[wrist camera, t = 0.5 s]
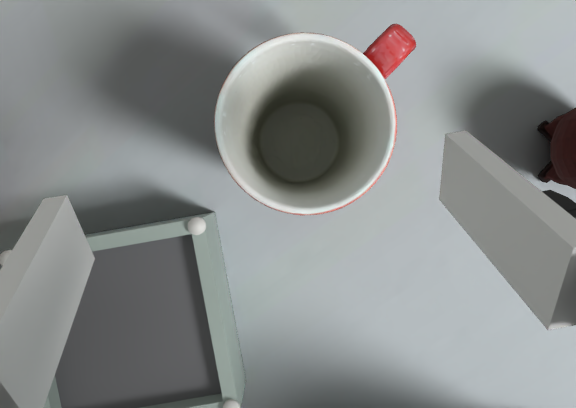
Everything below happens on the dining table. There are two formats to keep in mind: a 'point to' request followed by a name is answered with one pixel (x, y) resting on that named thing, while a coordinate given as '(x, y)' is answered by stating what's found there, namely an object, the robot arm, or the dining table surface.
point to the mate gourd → (561, 149)
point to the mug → (310, 119)
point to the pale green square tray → (153, 323)
